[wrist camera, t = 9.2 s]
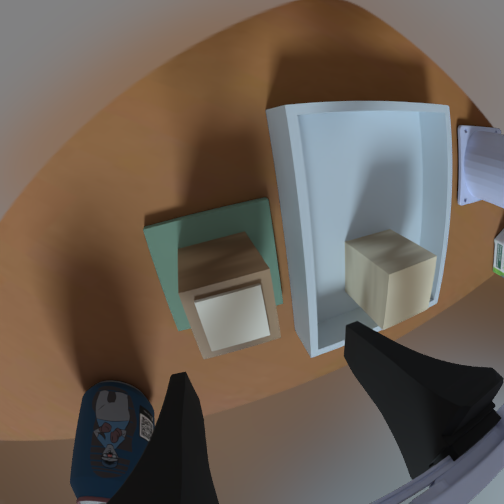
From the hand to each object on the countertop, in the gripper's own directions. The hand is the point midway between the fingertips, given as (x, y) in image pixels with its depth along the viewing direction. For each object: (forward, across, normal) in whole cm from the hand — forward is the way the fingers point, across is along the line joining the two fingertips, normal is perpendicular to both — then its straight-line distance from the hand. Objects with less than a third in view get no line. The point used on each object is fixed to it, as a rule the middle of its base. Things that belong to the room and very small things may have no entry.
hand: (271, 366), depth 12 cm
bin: (+9, -11, -2) cm, 14 cm away
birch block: (+9, -11, +2) cm, 14 cm away
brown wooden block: (+9, +1, -1) cm, 9 cm away
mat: (+9, +1, -1) cm, 9 cm away
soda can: (+10, +13, +10) cm, 19 cm away
